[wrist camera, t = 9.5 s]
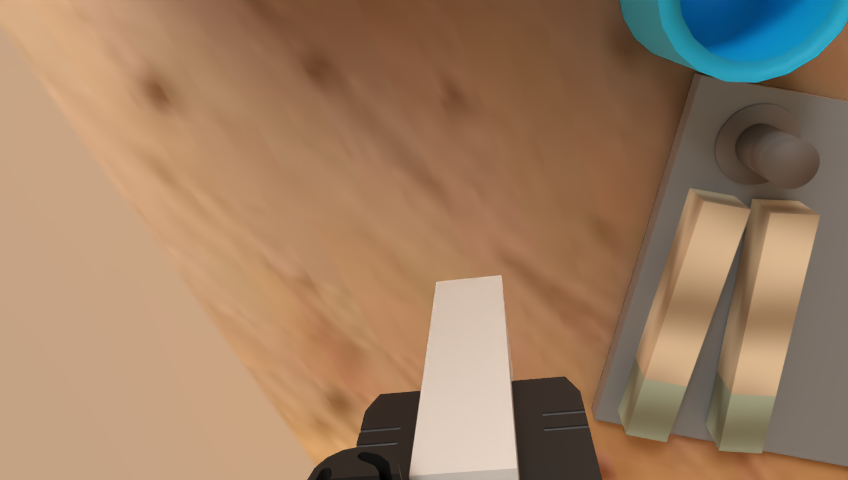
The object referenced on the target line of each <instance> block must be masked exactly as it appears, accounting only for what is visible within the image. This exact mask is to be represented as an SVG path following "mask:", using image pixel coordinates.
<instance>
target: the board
mask: <svg viewBox="0 0 848 480" xmlns="http://www.w3.org/2000/svg"><path fill="white" fill-rule="evenodd" d="M755 104H772V105H776V106H779V107H781V108H783V109H785V110H787V111H788V112H789V113H791V114H792V115H793V117H794V118H795V119H796V121H797V122H798V124H799V127H800V130H801V139H802V140H804V141H806V142H808V143H810V144H811V145H813V146H814V147H815V148H816V150H817V151H818V154H819V157H820V165H819V169H818V171H817V173H816V175H815V176H814V177H813V179H812V180H811V181H810V182H808V183H807V184H805V185H804V186H802V187H799V188H796V189H783V188H780V187H778V186H776V185H774V184H773V183H771V182H770V181H769V182H767V183H763V184H757V185H748V184H742V183H739V182H736V181H734V180H732V179H731V178H729V177H728V176H727V175H725V173H724V172H723V171H722V170H721V169H720V167H719V165H718V163H717V160H716V157H715V142H716V139H717V136H718V133H719V131H720V129H721V127H722V126H723V125H724V123H725V122H726V121H727V120H728V119H729V118H730V117H731V116H732V115H733V114H735V113H736V112H738V111H739V110H741V109H743V108H745V107H748V106H751V105H755ZM690 188H693V189H699V190H704V191H710V192H715V193H721V194H726V195H732V196H735V197H736V198H737V199H738V200H740V201H741V202H742V203H743V204H745V205H746V206H747V207H748V208H749V209H750V207H751V202H752V199H767V200H790V201H800V202H801V203H803V204H804V205H806V206H807V207H809V208H810V209H812V210H813V211H815V212H816V213H818V214H819V215H820V218H819V222H818V227H817V231H816V235H815V239H814V243H813V247H812V251H811V255H810V259H809V263H808V267H807V271H806V275H805V280H804V284H803V288H802V292H801V296H800V300H799V304H798V308H797V312H796V316H795V320H794V324H793V328H792V333H791V337H790V341H789V345H788V349H787V353H786V357H785V361H784V365H783V369H782V373H781V377H780V381H779V386H778V390H777V394H776V398H775V402H774V406H773V410H772V414H771V418H770V422H769V426H768V430H767V435H766V439H765V443H764V447H763V451H766V452H772V453H777V454H782V455H788V456H793V457H798V458H804V459H809V460H815V461H820V462H825V463H831V464H836V465H841V466H847V467H848V100H842V99H837V98H831V97H825V96H820V95H814V94H809V93H803V92H798V91H792V90H787V89H781V88H775V87H770V86H764V85H759V84H753V83H748V82H726V81H723V80H720V79H718V78H715V77H712V76H709V75H703V74H697V73H694V76H693V79H692V83H691V86H690V89H689V92H688V96H687V99H686V102H685V105H684V109H683V112H682V115H681V119H680V122H679V125H678V128H677V132H676V135H675V138H674V141H673V145H672V148H671V151H670V154H669V158H668V161H667V164H666V167H665V171H664V174H663V177H662V180H661V184H660V187H659V190H658V194H657V197H656V200H655V203H654V207H653V210H652V213H651V216H650V220H649V223H648V226H647V229H646V233H645V236H644V239H643V242H642V246H641V249H640V252H639V255H638V259H637V262H636V265H635V269H634V272H633V275H632V278H631V282H630V285H629V288H628V291H627V295H626V298H625V301H624V304H623V308H622V311H621V314H620V317H619V321H618V324H617V327H616V330H615V334H614V337H613V340H612V344H611V347H610V350H609V353H608V357H607V360H606V363H605V366H604V370H603V373H602V376H601V379H600V383H599V386H598V389H597V392H596V396H595V399H594V402H593V406H592V412H593V416H594V420H599V421H605V422H610V423H615V424H621V425H622V422H621V419H620V416H619V412H618V408H619V405H620V402H621V399H622V396H623V393H624V390H625V386H626V383H627V380H628V377H629V374H630V371H631V368H632V365H633V362H634V359H635V356H636V353H637V349H638V346H639V343H640V340H641V337H642V334H643V331H644V328H645V325H646V322H647V319H648V315H649V312H650V309H651V306H652V303H653V300H654V297H655V294H656V291H657V288H658V285H659V282H660V278H661V275H662V272H663V269H664V266H665V263H666V260H667V257H668V254H669V251H670V248H671V244H672V241H673V238H674V235H675V232H676V229H677V226H678V223H679V220H680V217H681V214H682V211H683V207H684V204H685V201H686V198H687V195H688V192H689V189H690ZM747 222H748V220H747ZM746 227H747V223H746V225H745V228H744V231H743V234H742V236H741V239H740V242H739V245H738V247H737V250H736V253H735V256H734V258H733V261H732V264H731V267H730V269H729V272H728V275H727V278H726V280H725V283H724V286H723V289H722V291H721V294H720V297H719V300H718V302H717V305H716V308H715V311H714V313H713V316H712V319H711V322H710V324H709V327H708V330H707V333H706V335H705V338H704V341H703V344H702V346H701V349H700V352H699V355H698V357H697V360H696V363H695V366H694V369H693V371H692V374H691V377H690V380H689V382H688V385H687V388H686V391H685V393H684V396H683V399H682V402H681V404H680V407H679V410H678V413H677V415H676V418H675V421H674V424H673V426H672V429H671V432H670V434H675V435H680V436H685V437H691V438H696V439H702V440H707V441H712V442H714V440H713V438H712V437H711V435H710V433H709V431H708V429H707V427H706V421H707V417H708V412H709V407H710V402H711V397H712V392H713V387H714V383H715V378H716V373H717V368H718V363H719V358H720V353H721V348H722V344H723V339H724V334H725V329H726V324H727V319H728V314H729V310H730V305H731V300H732V295H733V290H734V285H735V280H736V275H737V271H738V266H739V261H740V256H741V251H742V246H743V241H744V237H745V232H746Z"/></svg>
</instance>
